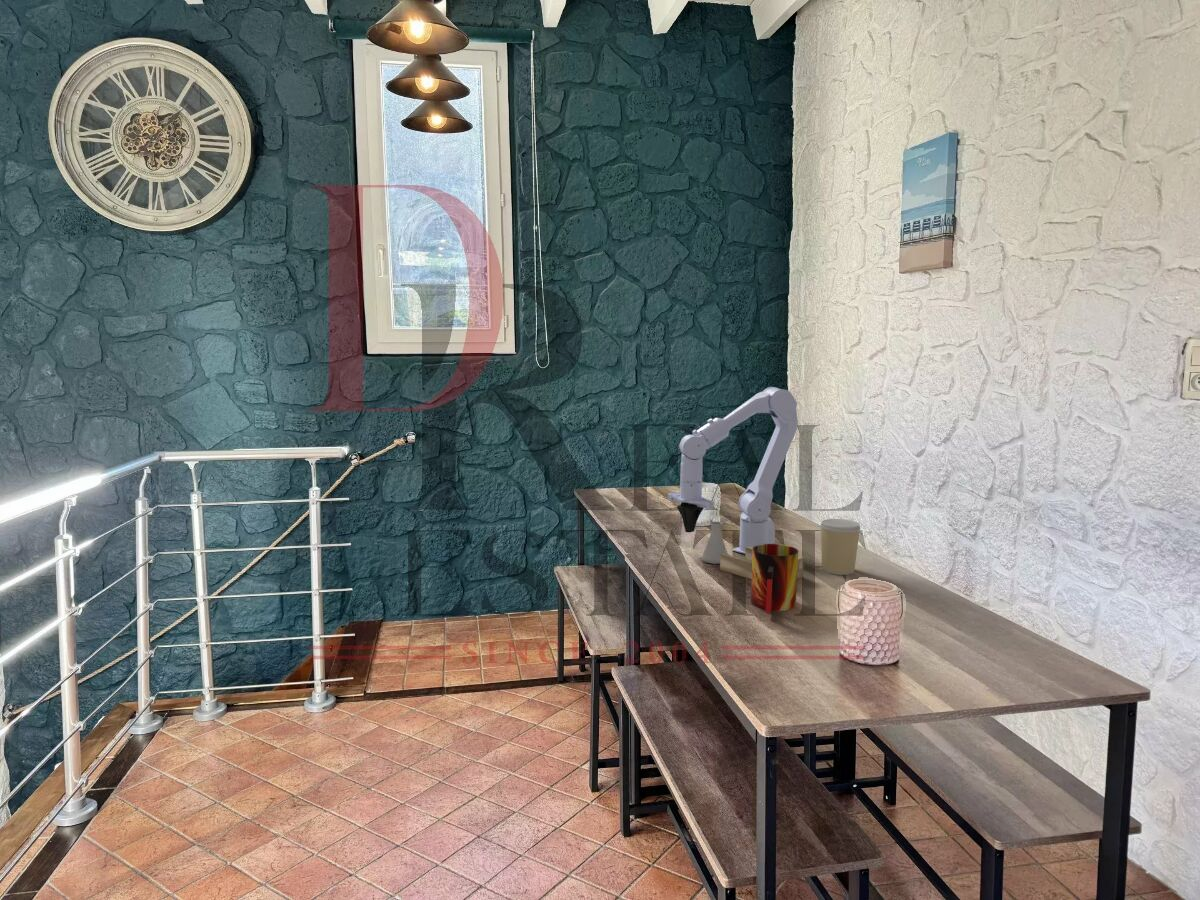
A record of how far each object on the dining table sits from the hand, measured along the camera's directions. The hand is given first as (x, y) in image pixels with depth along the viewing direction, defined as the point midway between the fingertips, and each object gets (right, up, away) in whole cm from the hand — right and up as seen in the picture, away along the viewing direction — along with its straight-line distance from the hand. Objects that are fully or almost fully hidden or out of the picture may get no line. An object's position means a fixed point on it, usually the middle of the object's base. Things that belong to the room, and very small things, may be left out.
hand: (689, 531), depth 212 cm
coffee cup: (+35, -8, -13) cm, 39 cm away
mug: (+14, -12, -39) cm, 44 cm away
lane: (+15, -9, -16) cm, 24 cm away
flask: (+6, -7, -6) cm, 11 cm away
